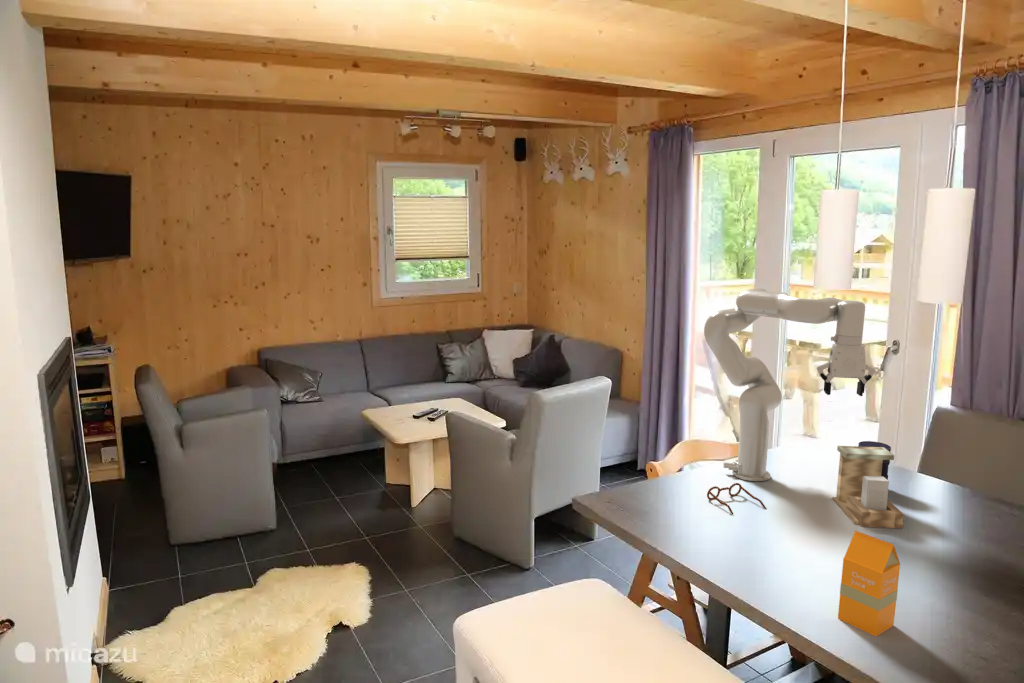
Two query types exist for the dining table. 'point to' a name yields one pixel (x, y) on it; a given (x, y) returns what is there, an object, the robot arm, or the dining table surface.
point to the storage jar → (885, 462)
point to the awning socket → (849, 486)
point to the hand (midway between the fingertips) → (843, 394)
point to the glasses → (730, 495)
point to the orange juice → (869, 584)
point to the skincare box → (874, 492)
